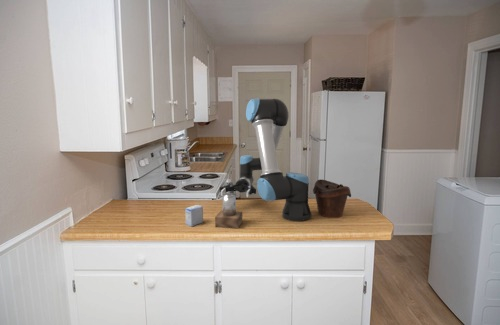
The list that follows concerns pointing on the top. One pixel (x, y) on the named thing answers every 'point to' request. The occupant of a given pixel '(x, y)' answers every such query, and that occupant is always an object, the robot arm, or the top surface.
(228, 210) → the food tin
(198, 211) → the medicine box
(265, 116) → the robot arm
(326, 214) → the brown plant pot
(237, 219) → the walnut block
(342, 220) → the top surface
